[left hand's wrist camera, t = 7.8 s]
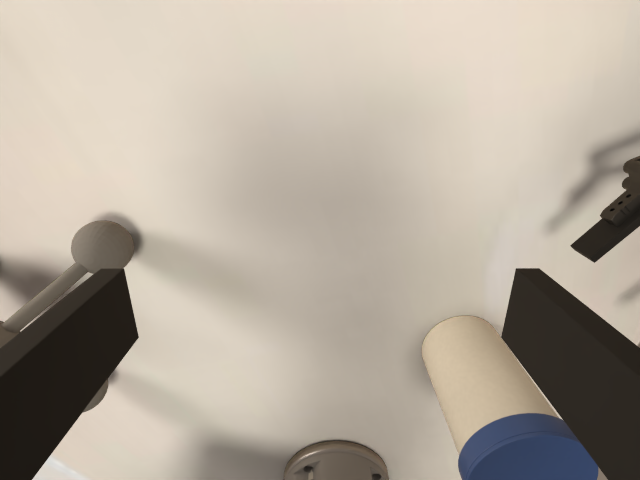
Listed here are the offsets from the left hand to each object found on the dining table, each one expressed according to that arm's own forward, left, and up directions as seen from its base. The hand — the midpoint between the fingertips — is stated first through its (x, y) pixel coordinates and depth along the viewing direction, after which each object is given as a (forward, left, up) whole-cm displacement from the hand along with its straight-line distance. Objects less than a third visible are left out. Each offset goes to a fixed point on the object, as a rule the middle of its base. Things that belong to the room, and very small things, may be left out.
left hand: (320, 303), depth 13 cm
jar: (-20, -21, -26) cm, 39 cm away
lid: (-20, -21, -10) cm, 30 cm away
